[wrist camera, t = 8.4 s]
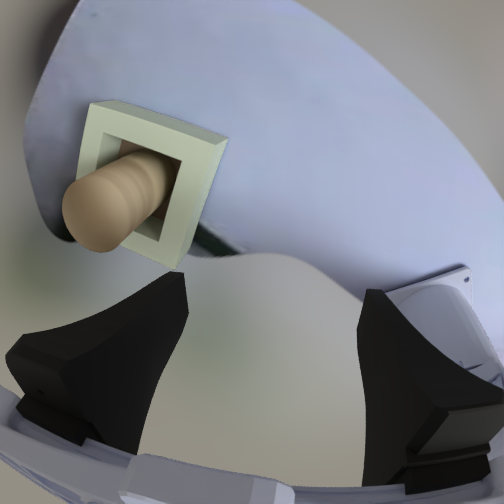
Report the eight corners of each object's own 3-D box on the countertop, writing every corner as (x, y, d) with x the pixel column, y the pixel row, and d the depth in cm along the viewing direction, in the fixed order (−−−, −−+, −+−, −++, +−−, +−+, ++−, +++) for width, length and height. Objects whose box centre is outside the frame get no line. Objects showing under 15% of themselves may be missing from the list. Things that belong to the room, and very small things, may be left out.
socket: (228, 138, 19) (215, 145, 16) (189, 249, 23) (174, 270, 20) (115, 100, 18) (90, 103, 16) (93, 206, 22) (71, 221, 20)
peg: (141, 213, 22) (88, 262, 16) (114, 165, 20) (51, 199, 14) (186, 190, 20) (139, 236, 14) (158, 137, 19) (98, 163, 13)
